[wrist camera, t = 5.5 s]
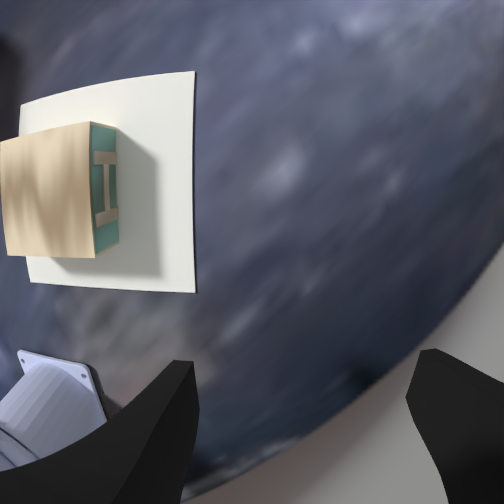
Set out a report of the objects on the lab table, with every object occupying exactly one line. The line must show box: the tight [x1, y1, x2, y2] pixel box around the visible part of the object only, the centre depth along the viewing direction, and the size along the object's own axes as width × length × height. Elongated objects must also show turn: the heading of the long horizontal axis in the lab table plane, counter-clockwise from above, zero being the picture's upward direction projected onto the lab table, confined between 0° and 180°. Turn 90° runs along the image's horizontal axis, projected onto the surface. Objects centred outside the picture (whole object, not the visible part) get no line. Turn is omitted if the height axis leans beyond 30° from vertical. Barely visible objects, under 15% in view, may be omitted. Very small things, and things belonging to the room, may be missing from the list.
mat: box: [19, 71, 195, 293], centre depth 17 cm, size 13×13×1 cm
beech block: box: [0, 121, 119, 258], centre depth 15 cm, size 7×3×7 cm
